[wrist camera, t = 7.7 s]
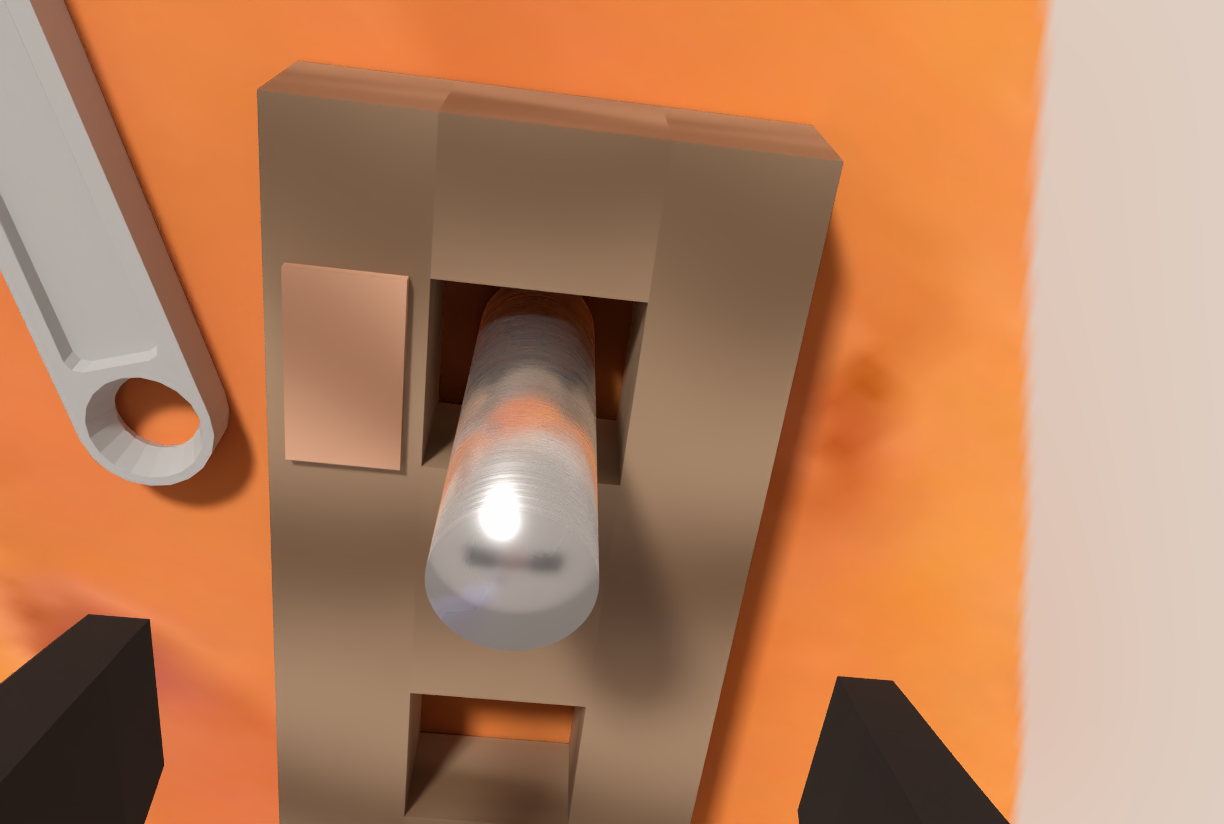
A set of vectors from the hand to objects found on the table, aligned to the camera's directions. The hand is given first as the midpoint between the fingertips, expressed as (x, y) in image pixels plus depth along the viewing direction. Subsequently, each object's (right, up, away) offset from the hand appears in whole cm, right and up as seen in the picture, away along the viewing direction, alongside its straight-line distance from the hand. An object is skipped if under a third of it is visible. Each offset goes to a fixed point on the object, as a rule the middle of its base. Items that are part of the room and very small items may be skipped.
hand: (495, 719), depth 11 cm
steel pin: (0, +5, +9) cm, 10 cm away
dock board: (-1, +1, +11) cm, 11 cm away
